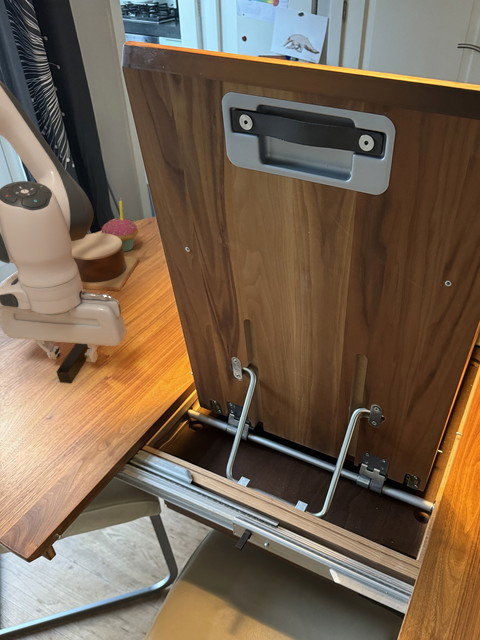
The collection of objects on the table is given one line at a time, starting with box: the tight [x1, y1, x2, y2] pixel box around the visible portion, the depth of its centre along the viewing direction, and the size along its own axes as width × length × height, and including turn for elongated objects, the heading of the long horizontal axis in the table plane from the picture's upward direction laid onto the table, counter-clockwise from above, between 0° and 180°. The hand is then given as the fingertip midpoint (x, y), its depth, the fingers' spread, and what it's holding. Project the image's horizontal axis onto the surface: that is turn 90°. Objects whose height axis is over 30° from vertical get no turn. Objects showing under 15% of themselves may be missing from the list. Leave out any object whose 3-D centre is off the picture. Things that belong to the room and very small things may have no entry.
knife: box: [56, 343, 92, 384], centre depth 95 cm, size 20×3×2 cm, turn 174°
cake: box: [72, 232, 140, 292], centre depth 115 cm, size 14×14×7 cm
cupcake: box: [101, 197, 139, 253], centre depth 124 cm, size 9×8×12 cm
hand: (73, 358), depth 91 cm, fingers open, 5 cm apart
